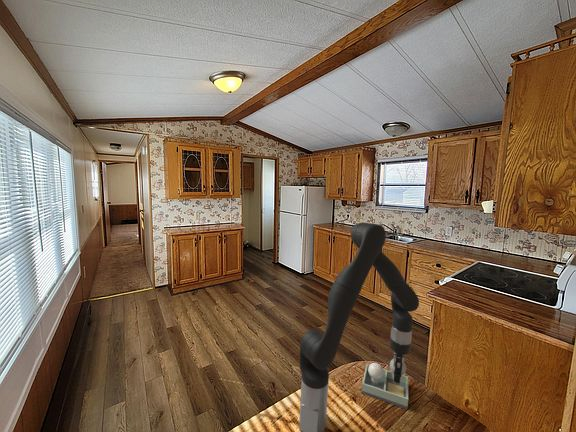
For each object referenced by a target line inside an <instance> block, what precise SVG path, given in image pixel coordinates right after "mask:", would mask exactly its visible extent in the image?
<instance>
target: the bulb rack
mask: <svg viewBox="0 0 576 432" xmlns="http://www.w3.org/2000/svg"><path fill="white" fill-rule="evenodd" d="M364 368H365V369H364V374H363V378H362V383H361V394H363V395H366V396H369V397H372V398H374V399H377V400H380V401H382V402H385V403H388V404H391V405H394V406H396V407H399V408H401V409H404V410H408V406H409V405H408V404H409V376H408V375H405V374H403V375H402V377H401V380H400V384H399V385H395V384H394V383H393V374H392V371H391V370H388V369H386V368H385V369H384V368H383V367H382V365H380V364H379V363H377V362H372V363H370V364H369V363H366V364H365V367H364Z"/></svg>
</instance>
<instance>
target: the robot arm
mask: <svg viewBox="0 0 576 432" xmlns="http://www.w3.org/2000/svg"><path fill="white" fill-rule="evenodd" d="M350 237H351V240H352V242H353V244H354V245H355V246H356V248H357V249H358V251H357V253H356V254H355V256H354V258H353V259H352V260H351V262H350V263H348V265H346V267H344V268H343V269H342V270H341V271H339V273H338V274H337V275H336V277H335V279H334V281H333V283H332V285H331V287H330V290H329V293H328V297H327V298H328V299H327V309H328V310H327V312H328V313H327V315H328V317H327V323H326V327H325V330H324V333H322V332H321V331H319V330H317V329H309V330H308V331H306V332H305V333H304V334H303V336H302V338H301V341H300V346H299V369H300V372H301V385H300V387H301V388H300V403H299V404H300V406H299V431H301V432H324V431H325V430H326V426H327V412H328V411H327V409H328V408H327V407H328V395H329V383H330V382H329V381H330V380H329V379H330V373H329V370H328V368H329V366H330V365H331V364H332V363H333V361H334V360H335V357H336V355H337V352H338V350H339V346H340V342H341V340H342V337H343V333H344V331H345V328H346V325H347V323H348V320H349V318H350V315H351V313H352V311H353V310H354V309H353V308H354V307H355V305H356V303H357V301H358V298H359V296H360V294H361V291H362V288H363V286H364V284H365V283H366V282H365V281H366V279H367V278H368V275H369V272H370V271H371V269H372V267H373V268H374V269H375V271H376V272H377V274H378V275H379V277H380V278H381V280H382V282H383V283H384V285H385V286H386V288H387V289H388V290H389V291H390V292H391V295H390V303H391V309H392V315H393V317H392V326H391V329H390V339H389V348H390V349H391V351H392V352H393V359H394V367H395V369H394V382H396V383H400V377H401V372H402V369H403V362H404V363H405V355H408V354H410V352H411V348H412V338H413V336H412V335H413V333H412V328H413V316H412V315H411V312H415V311H416V310H418V308H419V306H420V298H419V297H418V296H419V295H417V293H416V292H415V290H413V288H412V287H411V286H410V285H409V284H408V283H407V281H406V280H405V278H404V276H403V274H402V273H401V272H400V269H399V268H398V267H397V265H395V263H394V262H393V261H392V260H391V259H390V258H389V257H388V256H386V254H385V253H383V251H382V249H383V247H384V245H385V243H386V238H387V232H386V229H385V227H384V226H382V225H381V224H378V223H377V224H376V223H372V222H371V223H370V222H358V223H356V224H354V225H353V227H352V228H351V232H350ZM395 359H396V361H395Z"/></svg>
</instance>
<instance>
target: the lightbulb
mask: <svg viewBox="0 0 576 432" xmlns="http://www.w3.org/2000/svg"><path fill="white" fill-rule="evenodd" d="M395 361H396V359H395ZM389 367H390V368H389V369H390V371H392V374H393V383H394V384H395V385H399V384H400V383H396V382H394V369H395V367H394V358H392V359H391V360H390V362H389ZM406 371H407V365H406V363H405V361H404V362H403V369H402V372H401V377H402V375H405V374H406ZM401 377H400V380H401Z"/></svg>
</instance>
